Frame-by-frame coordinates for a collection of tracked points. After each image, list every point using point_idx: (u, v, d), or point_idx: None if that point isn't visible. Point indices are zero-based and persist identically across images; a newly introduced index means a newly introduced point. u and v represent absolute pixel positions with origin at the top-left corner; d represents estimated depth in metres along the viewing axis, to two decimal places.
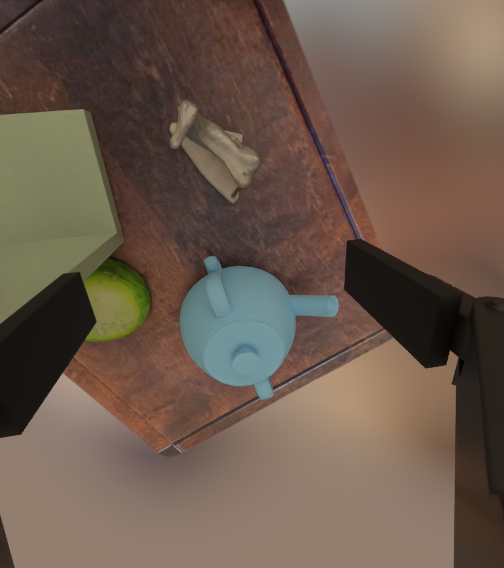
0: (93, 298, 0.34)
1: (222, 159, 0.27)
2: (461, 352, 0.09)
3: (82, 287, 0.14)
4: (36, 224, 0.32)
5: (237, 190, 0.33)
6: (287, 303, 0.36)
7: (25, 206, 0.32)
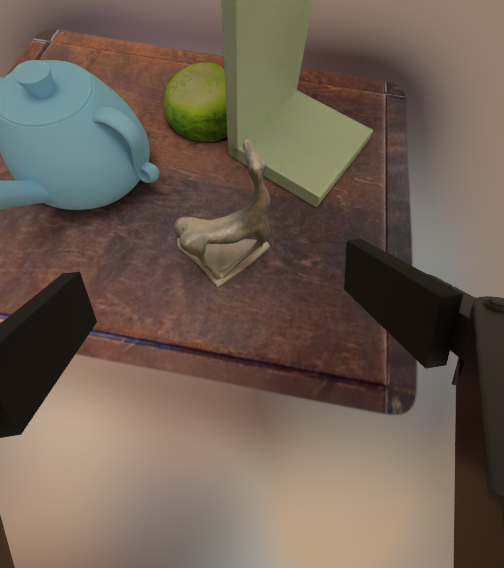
0: (212, 90, 0.37)
1: (211, 220, 0.27)
2: (461, 352, 0.09)
3: (82, 287, 0.13)
4: (284, 118, 0.40)
5: None
6: (43, 179, 0.29)
7: (298, 123, 0.39)
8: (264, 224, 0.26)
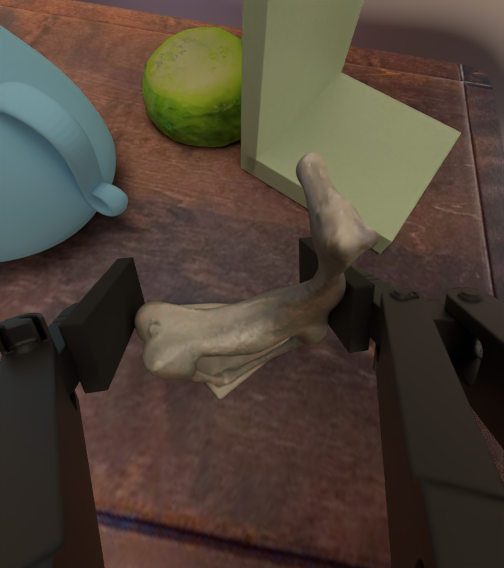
0: (217, 68, 0.24)
1: (210, 310, 0.13)
2: (377, 340, 0.10)
3: (135, 271, 0.15)
4: (326, 113, 0.26)
5: None
6: None
7: (348, 121, 0.26)
8: (320, 327, 0.12)
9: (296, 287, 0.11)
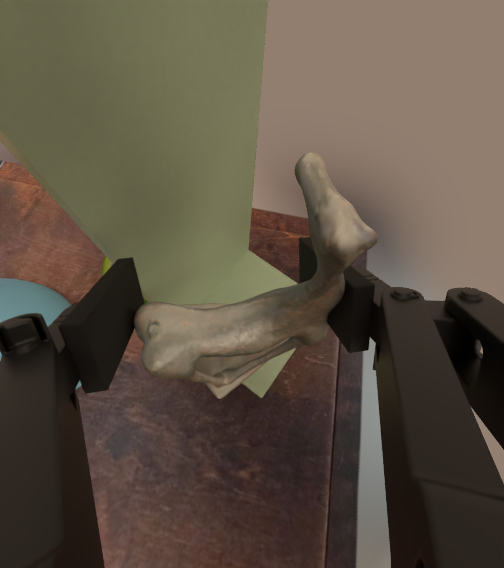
0: None
1: (209, 310, 0.13)
2: (377, 340, 0.10)
3: (134, 271, 0.15)
4: (232, 289, 0.37)
5: None
6: None
7: (246, 296, 0.37)
8: (320, 327, 0.12)
9: (295, 287, 0.11)
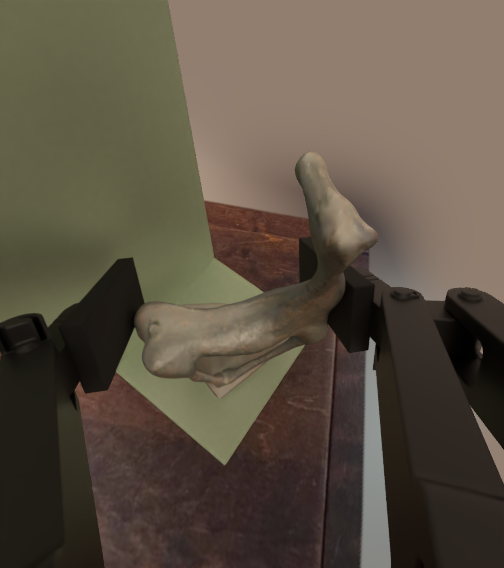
0: None
1: (209, 310, 0.13)
2: (377, 340, 0.10)
3: (134, 271, 0.15)
4: None
5: None
6: None
7: None
8: (320, 327, 0.12)
9: (296, 287, 0.11)
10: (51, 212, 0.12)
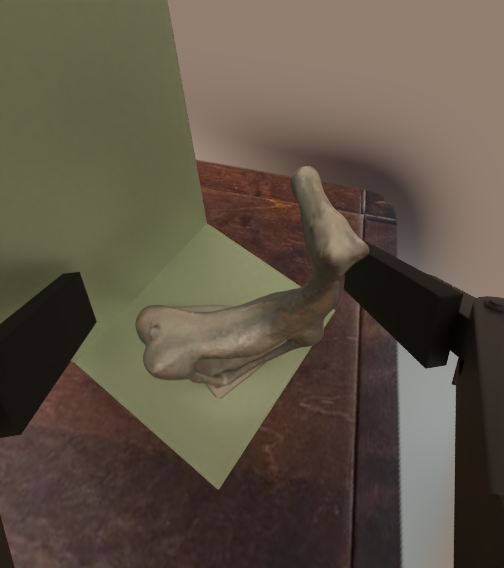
0: None
1: (209, 313, 0.14)
2: (461, 352, 0.09)
3: (82, 287, 0.13)
4: (176, 287, 0.22)
5: None
6: None
7: (200, 298, 0.22)
8: (316, 330, 0.13)
9: (292, 292, 0.12)
10: None
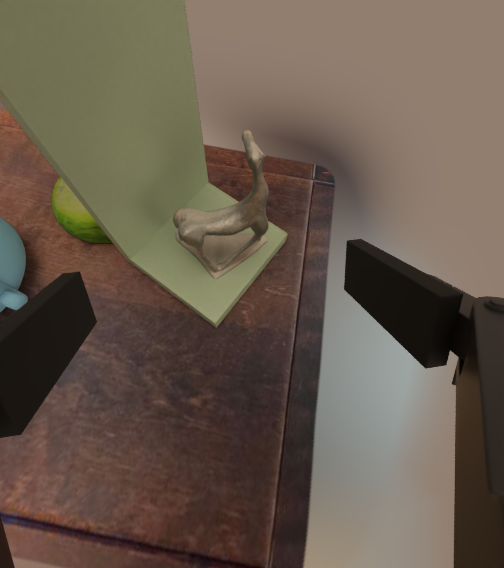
0: None
1: (210, 211, 0.27)
2: (461, 352, 0.09)
3: (82, 287, 0.13)
4: None
5: None
6: None
7: None
8: (262, 216, 0.26)
9: (249, 194, 0.25)
10: (105, 80, 0.19)
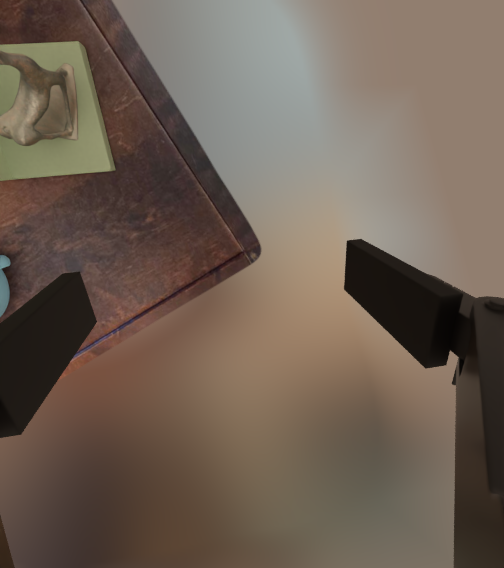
0: None
1: (13, 105, 0.29)
2: (461, 352, 0.09)
3: (82, 287, 0.13)
4: (1, 105, 0.35)
5: None
6: None
7: None
8: (48, 75, 0.28)
9: None
10: None
